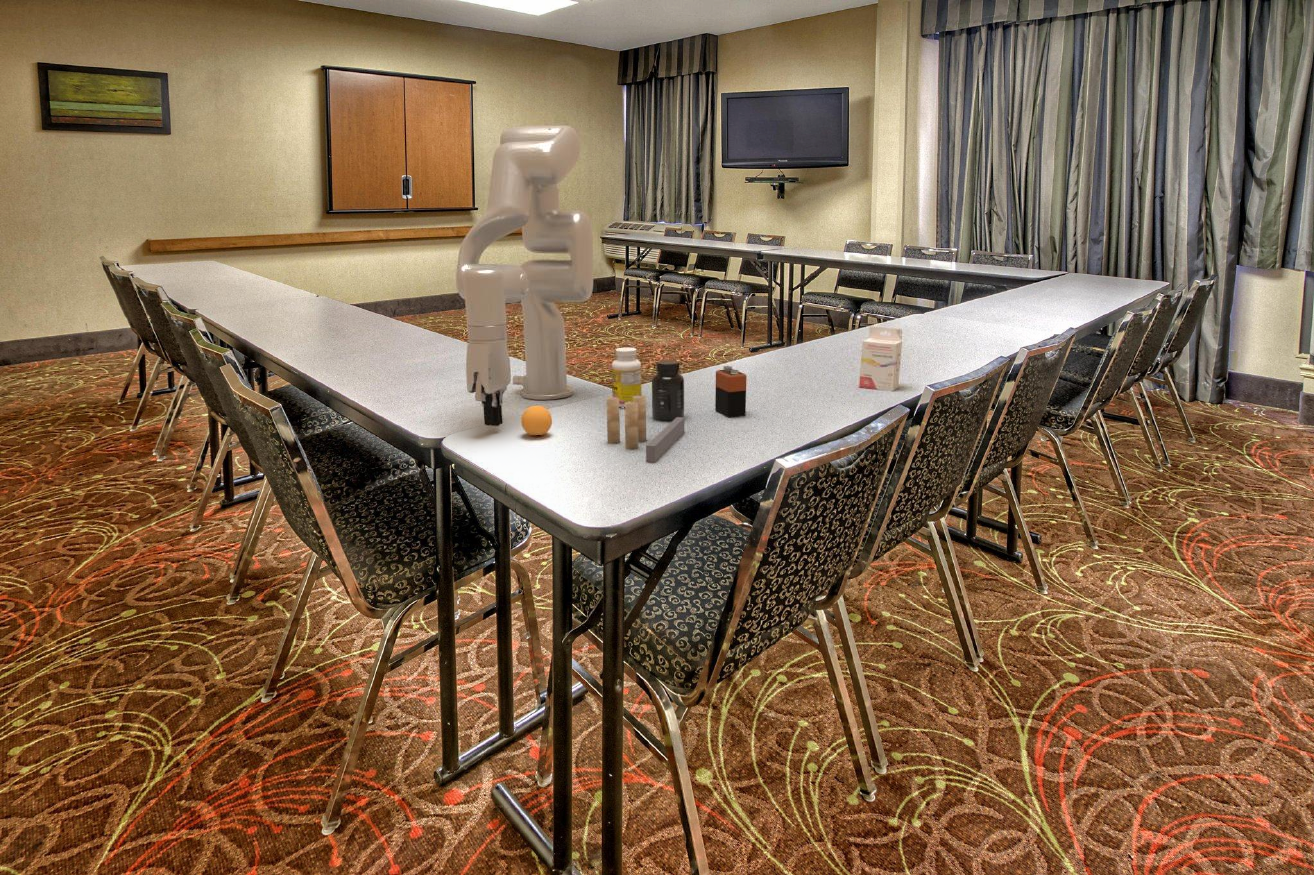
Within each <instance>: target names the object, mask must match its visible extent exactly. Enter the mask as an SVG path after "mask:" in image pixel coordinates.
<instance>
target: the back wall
mask: <svg viewBox="0 0 1314 875" xmlns="http://www.w3.org/2000/svg"><path fill="white" fill-rule="evenodd" d="M683 434H685V417H683V418H682V417H676V418H675V419H674V420H673V421H670V423H669V424H667V426H666V427H665V428H662V430H661V431H660V432H659V433H658V434H657V435H656V436H655V437H653V439H651V440H650V441H649V442H647V444H646V445H645V462H646V463H656V462H657V461H658V460H659V459H660V458H662V456H663V455H664V454H665V453H666V452H667V451H668V450H669V449H670V448H671V447H672V446H673V445H674V444H675V442H676V441H678V440H679V438H681V436H682V435H683Z"/></svg>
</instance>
